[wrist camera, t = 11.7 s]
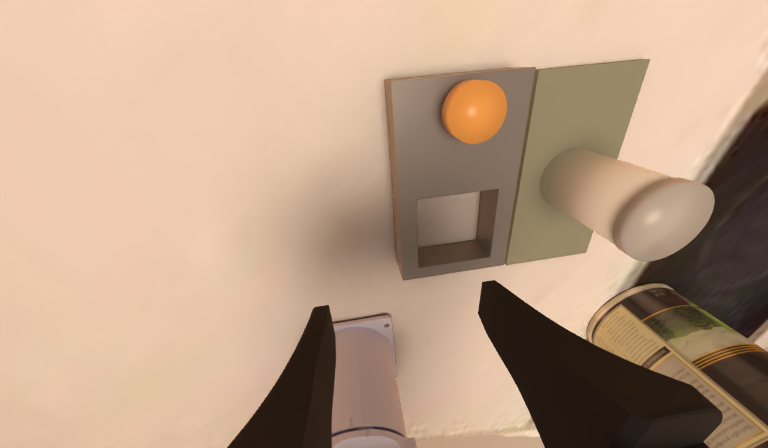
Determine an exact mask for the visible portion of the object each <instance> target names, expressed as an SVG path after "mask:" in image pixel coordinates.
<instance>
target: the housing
mask: <svg viewBox="0 0 768 448" xmlns="http://www.w3.org/2000/svg"><path fill="white" fill-rule="evenodd" d="M535 68H536V67H520V68H503V69H492V70H482V71H471V72H461V73H450V74H440V75H430V76H419V77H409V78H398V79H388V80H384V81H385V95H386V110H387V124H388V138H389V152H390V166H391V180H392V194H393V208H394V223H395V237H396V251H397V262H398V265H399V269H400V272H401V275H402V278H403V280H410V279H416V278H423V277H429V276H435V275H442V274H448V273H455V272H461V271H467V270H474V269H480V268H487V267H493V266H499V265H504V260H505V254H506V248H507V241H508V235H509V229H510V223H511V217H512V210H513V204H514V198H515V192H516V186H517V179H518V173H519V167H520V161H521V155H522V148H523V142H524V136H525V130H526V124H527V117H528V111H529V105H530V99H531V93H532V86H533V80H534V74H535ZM466 80H488V81H491V82H494V83H496V84H497V85H498V86H499V87H500V88H501V89H502V90H503V92H504V94H505V96H506V100H507V112H506V117H505V120H504V122H503V124H502V126H501V127H500V129H499V130H498V132H497V133H496V134H495V135H494V136H492V137H491V138H490V139H488V140H487V141H484V142H482V143H478V144H468V143H465V142H462V141H460V140H459V139H457V138H455V137H454V136H452V135H451V134H449V133H448V131H447V130H446V129H445V127H444V124H443V121H442V108H443V104H444V101H445V99H446V97H447V95H448V94H449V92H450V91H451V90H452V89H453V88H454V87H455V86H456V85H458V84H459V83H461V82H463V81H466ZM478 191H481V197H480V207H479V217H478V228H477V238H476V240H473V241H466V242H459V243H452V244H446V245H439V246H432V247H425V248H418V234H417V199H425V198H432V197H440V196H447V195H455V194H462V193H470V192H478Z"/></svg>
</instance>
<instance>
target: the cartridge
mask: <svg viewBox="0 0 768 448" xmlns="http://www.w3.org/2000/svg"><path fill="white" fill-rule="evenodd" d="M540 193H541V195H542V197H543V198H544V199H545V200H546V201H547V202H549V203H550V204H552V205H553V206H555V207H556V208H558V209H560V210H561V211H563V212H564V213H566V214H568V215H569V216H571V217H572V218H574V219H575V220H577V221H579V222H580V223H582V224H583V225H585V226H587V227H588V228H590V229H591V230H593V231H594V232H596V233H598V234H599V235H601V236H602V237H604V238H606V239H607V240H609V241H610V242H612V243H613V244H615V245H616V247H617V248H618V249H620V250H621V251H623V252H624V253H626V254H627V255H629V256H630V257H632V258H633V259H636V260H639V261H654V260H658V259H661V258H664V257H667V256H669V255H671V254H673V253H675V252H677V251H678V250H680V249H681V248H683V247H684V246H685V245H687V244H688V243H689V242H690V241H692V240H693V239H694V238H695V237H696V236H697V235H698V234H699V232H700V231H701V230H702V229H703V228H704V226H705V225H706V223H707V222H708V220H709V218H710V216H711V214H712V211H713V208H714V195H713V192H712V191H711V189H710V188H709V187H707V186H705V185H703V184H700V183H697V182H693V181H690V180H687V179H684V178H673V177H670V176H667V175H664V174H661V173H658V172H655V171H651V170H648V169H645V168H642V167H639V166H636V165H633V164H630V163H626V162H623V161H620V160H617V159H614V158H611V157H608V156H604V155H601V154H598V153H595V152H592V151H589V150H586V149H582V148H575V149H570V150H567V151H565V152H563V153H561V154H559V155H558V156H556V157H555V158H554V159H553V160H552V161H551V162H550V163H549V164H548V165H547V167H546V168H545V170H544V172H543V174H542V176H541V179H540Z"/></svg>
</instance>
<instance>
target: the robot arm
mask: <svg viewBox="0 0 768 448" xmlns="http://www.w3.org/2000/svg"><path fill="white" fill-rule="evenodd" d="M478 314H479V317H480V319H481V321H482V324H483V326H484V328H485V331H486V333H487V335H488V337H489V338H490V340H491V342H492V344H493V345H494V347H495V349H496V351H497V352H498V354H499V356H500V357H501V359H502V361H503V362H504V364H505V366H506V368H507V369H508V371H509V373H510V374H511V376H512V378H513V379H514V381H515V383H516V385H517V387H518V389H519V391H520V393H521V395H522V397H523V399H524V401H525V404H526V406H527V408H528V410H529V412H530V414H531V417H532V419H533V421H534V423H535V426H536V428H537V430H538V432H539V435H540V437H541V439H542V442H543V444H544V446H545V448H709V447H708V446H707V445H706V444H705V443H704V441H705V440H706V439H707V438H708V437H709V436H710V434H711V433H712V432H713V431H714V430H715V429H716V428H717V427H718V426H719V425H720V424H721V422H722V419H723V415H722V412H721V410H719V409H718V408H717V407H716V406H715V405H714V404H713V403H712V402H710V401H709V400H708V399H707V398H706V397H705V396H704V395H703V394H701V393H700V392H699V391H698V390H697V389H696V388H695V387H693V386H692V385H690V384H687V383H685V382H682V381H679V380H676V379H674V378H671V377H668V376H666V375H663V374H660V373H657V372H655V371H652V370H650V369H647V368H645V367H642V366H640V365H638V364H635V363H633V362H630V361H628V360H626V359H624V358H621V357H619V356H617V355H615V354H613V353H611V352H609V351H606V350H604V349H602V348H600V347H598V346H596V345H594V344H592V343H590V342H588V341H586V340H585V339H583V338H581V337H579V336H577V335H576V334H574V333H572V332H570V331H568V330H567V329H565V328H563V327H562V326H560V325H558V324H557V323H555V322H554V321H552V320H551V319H549V318H547V317H546V316H544V315H543V314H541V313H540V312H538V311H537V310H535V309H534V308H533V307H531V306H530V305H528V304H527V303H525V302H524V301H523V300H521V299H520V298H518V297H517V296H516V295H514V294H513V293H512V292H510V291H509V290H508V289H506V288H505V287H504V286H502V285H501V284H499V283H498V282H497V281H495V280H493V281H486V282H482V289H481V296H480V303H479V311H478ZM396 377H397V373H396V363H395V352H394V342H393V331H392V321H391V317H390V316H388V315H383V316H377V317H371V318H365V319H359V320H353V321H347V322H341V323H335V324H333V323H332V318H331V313H330V309H329V305H326V306H319V307H315V308H314V309H313V311H312V313H311V316H310V319H309V321H308V323H307V326H306V328H305V330H304V332H303V335H302V337H301V339H300V341H299V343H298V345H297V347H296V349H295V351H294V353H293V355H292V356H291V358H290V360H289V362H288V363H287V365H286V367H285V369H284V371H283V372H282V374H281V375H280V377H279V379H278V380H277V382H276V383H275V385H274V387H273V388H272V390H271V391H270V393H269V394H268V396H267V397H266V398H265V400H264V401H263V403H262V404H261V405H260V407H259V408H258V410H257V411H256V412H255V414H254V415H253V416H252V418H251V419H250V420H249V422H248V423H247V424H246V425H245V426H244V428H243V429H242V430H241V431H240V433H239V434H238V435H237V436H236V437H235V439H234V440H233V441H232V442H231V444H230V445H229V446H228V447H227V448H417V447H416V442H415V438H407V437H406V432H405V426H404V421H403V415H402V410H401V404H400V399H399V393H398V388H397V382H396Z"/></svg>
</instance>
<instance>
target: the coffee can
mask: <svg viewBox="0 0 768 448" xmlns="http://www.w3.org/2000/svg"><path fill="white" fill-rule="evenodd" d="M587 338H588V340H589V342H590V343H592V344H594V345H596V346H598V347H600V348H602V349H604V350H606V351H609V352H611V353H613V354H615V355H617V356H619V357H621V358H624V359H626V360H628V361H630V362H633V363H635V364H638V365H640V366H642V367H645V368H647V369H650V370H652V371H655V372H657V373H660V374H663V375H666V376H668V377H671V378H674V379H676V380H679V381H682V382H685V383H687V384H690V385H692V386H693V387H695V388H696V389H697V390H698V391H699V392H700V393H701V394H703V395H704V396H705V397H706V398H707V399H708V400H709V401H710V402H712V403H713V404H714V405H715V406H716V407H717V408H718V409H719V410H721V412H722V415H723V419H722V422H721V424H720V425H719V426H718V427H717V428H716V429H715V430H714V431H713V432H712V433H711V434H710V436H709V437H708V438H707V439H706V440H705V441H704V443H705V444H706V445H707V446H708V447H709V448H768V352H767V351H765V350H764V349H762V348H761V347H759V346H758V345H756V344H755V343H753V342H752V341H750V340H748V339H747V338H745V337H744V336H742V335H741V334H739V333H738V332H736V331H735V330H733V329H732V328H730V327H729V326H727V325H726V324H724V323H723V322H721V321H719V320H718V319H716V318H715V317H713V316H712V315H710V314H709V313H707V312H706V311H704V310H703V309H701V308H700V307H698V306H697V305H695V304H694V303H692V302H691V301H689V300H688V299H686V298H685V297H683V296H682V295H680V294H678V293H677V292H675V291H674V290H673V289H672V288H671V287H669V286H667V285H665V284H660V283H649V284H644V285H640V286H636V287H633V288H630V289H628V290H626V291H624V292H622V293H620V294H618V295H617V296H615V297H614V298H612V299H611V300H609V301H608V302H607V303H606V304H605V305H603V306H602V307H601V308H600V309H599V310H598V311H597V312H596V314H595V315H594V317H593V318H592V320H591V321H590V323H589V325H588V330H587Z"/></svg>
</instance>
